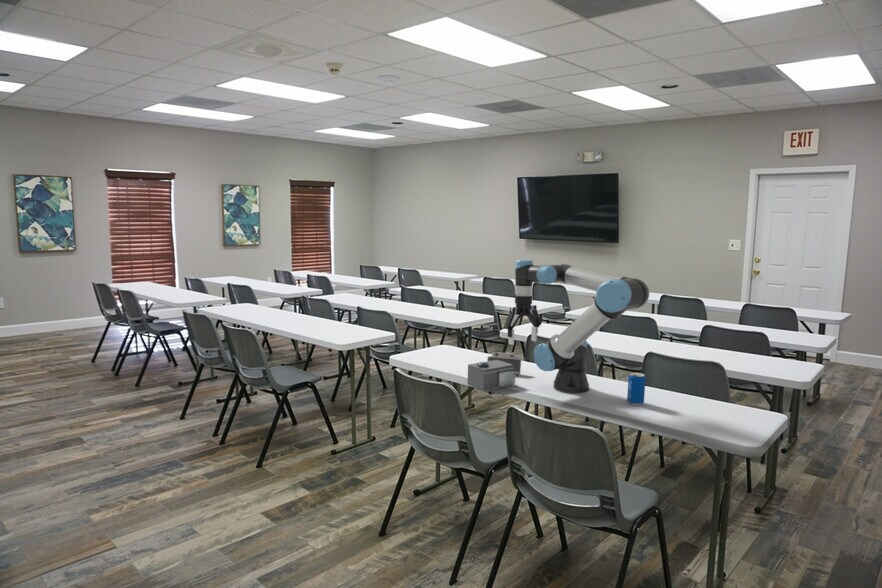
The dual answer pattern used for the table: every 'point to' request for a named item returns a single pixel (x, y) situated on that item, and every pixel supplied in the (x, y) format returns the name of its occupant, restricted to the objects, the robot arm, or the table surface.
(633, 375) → the beverage can
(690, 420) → the table surface
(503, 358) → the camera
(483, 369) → the sliding door box
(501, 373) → the side door
